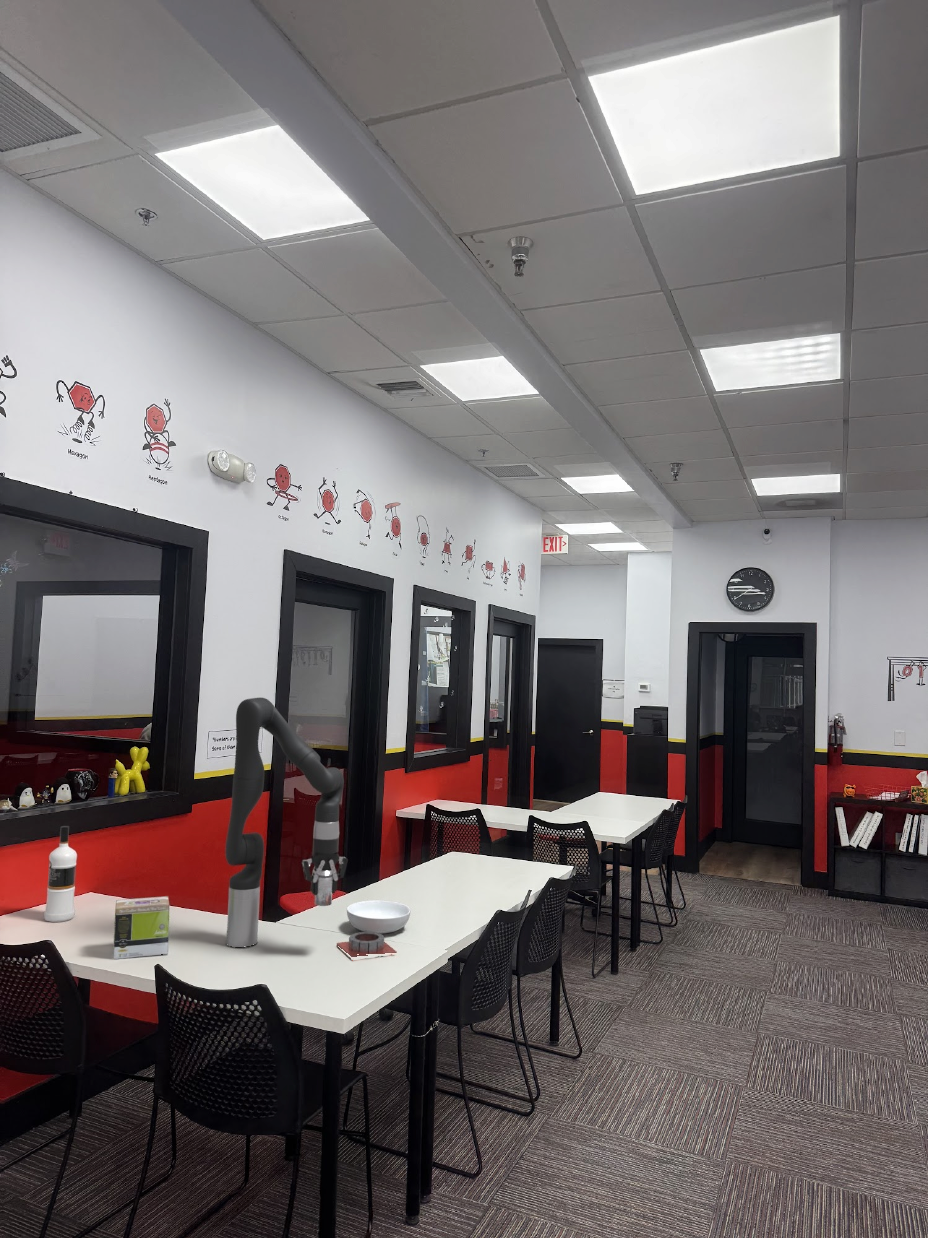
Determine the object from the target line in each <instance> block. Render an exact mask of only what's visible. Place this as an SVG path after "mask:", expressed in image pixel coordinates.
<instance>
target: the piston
mask: <svg viewBox="0 0 928 1238" xmlns="http://www.w3.org/2000/svg"><path fill="white" fill-rule="evenodd" d="M316 871H317V869H316ZM332 886H333V870H322V871H320V875H319V876H318V879H317V895H314V905H315V906H319V907H328V906H331V905H332V904H333V894H332Z"/></svg>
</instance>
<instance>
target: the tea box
mask: <svg viewBox="0 0 928 1238" xmlns="http://www.w3.org/2000/svg"><path fill="white" fill-rule="evenodd" d="M169 926H170V901H169V895H165V896H164V895H163V896H155V897H154V896H153V897H151V896H150V897H140V898H129V899H116V900H115V909H114V930H113V933H114V934H113V959H114V960H117V959H118V960H119V959H128V958H129V959H130V958H139V957H140V958H141V957H149V956H150V957H151V956H160V955H161V954H163V955H168V954H169V941H170V939H169V937H170V936H169V935H170V934H169V933H170V927H169ZM161 956H162V955H161Z"/></svg>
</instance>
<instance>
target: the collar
mask: <svg viewBox="0 0 928 1238" xmlns="http://www.w3.org/2000/svg"><path fill="white" fill-rule="evenodd" d="M337 946H339V947H340V948H341V949H343V950H344V951H345V952H346V953H348V954H349V955H350V956H351V957H357V956H368V955H366V954H385V953H398V951H397V950H395V949H394V948H393V947H391V945H389V944H388V943H387V942H385V936H384V934H379V933H375V932H365V931H361V932H354V933H352V934H351V935H349V936H348V941H343V942H336V947H337ZM357 954H359V955H357Z"/></svg>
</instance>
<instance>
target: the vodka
mask: <svg viewBox="0 0 928 1238" xmlns="http://www.w3.org/2000/svg"><path fill="white" fill-rule="evenodd" d="M69 833H70V826H69V825H63V826H60V832H59V843H58V845H59V846H58V847H56V848H55V849H53V851H51V852H50V854H49V856H48V859H49V862H48V863H49V864H48V879H47V889H46V891H47V893H46V895H47V896H46V905H45V909H44V912H43V919H44V920H45V921H47V922H48V923H62V922H67V921H71V920H72V919H74V917H75V916H76V908H75V889H76V887H75V886H76V885H75V883H76V882H75V881H76V866H77V859H78V854H77V852H76V850H75V849H73V848H72V847H70V846H69V837H70V836H69Z"/></svg>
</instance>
